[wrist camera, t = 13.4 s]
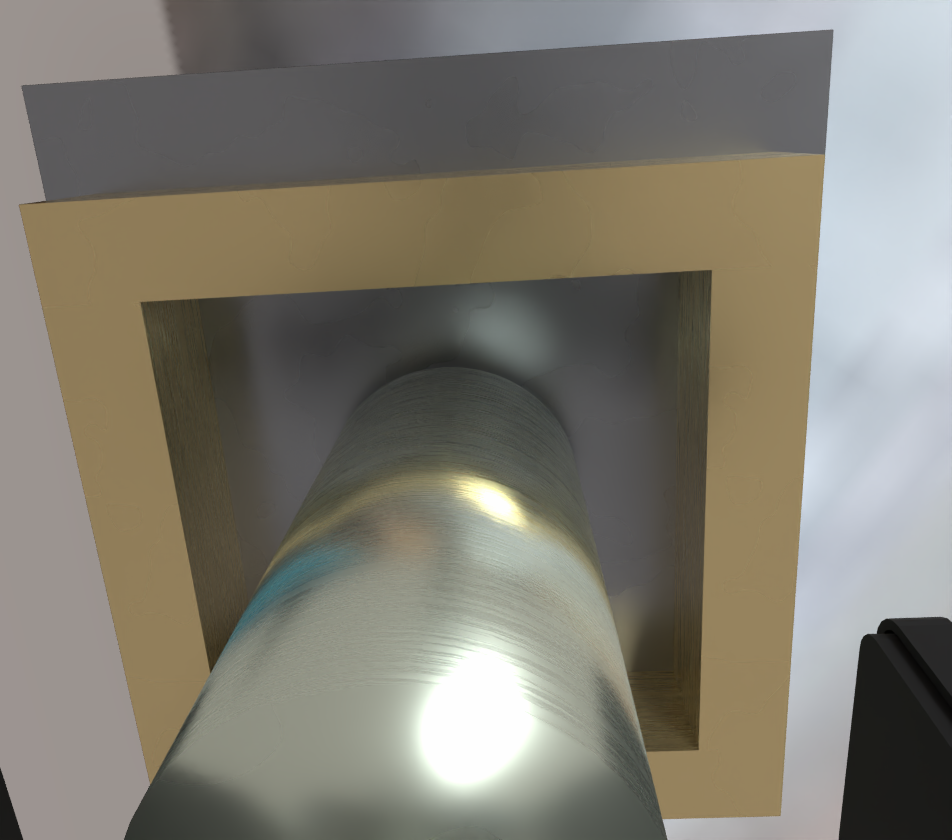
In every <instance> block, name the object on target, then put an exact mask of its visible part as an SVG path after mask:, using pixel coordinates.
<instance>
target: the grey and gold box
mask: <svg viewBox="0 0 952 840" xmlns="http://www.w3.org/2000/svg"><path fill="white" fill-rule="evenodd" d="M832 43H833V30H820V31H805V32H791V33H776V34H762V35H747V36H733V37H718V38H704V39H690V40H675V41H661V42H646V43H632V44H617V45H603V46H588V47H574V48H559V49H545V50H530V51H516V52H501V53H487V54H472V55H458V56H443V57H429V58H414V59H400V60H385V61H371V62H356V63H342V64H327V65H313V66H298V67H284V68H269V69H255V70H240V71H226V72H211V73H197V74H183V75H168V76H154V77H139V78H125V79H110V80H97V81H81V82H67V83H53V84H38V85H23V86H22V91H23V96H24V100H25V105H26V109H27V114H28V118H29V123H30V128H31V132H32V137H33V142H34V146H35V151H36V156H37V160H38V165H39V169H40V174H41V178H42V183H43V188H44V193H45V197H46V201H42V202H35V203H28V204H20V205H19V207H20V212H21V216H22V220H23V225H24V229H25V233H26V238H27V242H28V247H29V251H30V255H31V260H32V265H33V269H34V274H35V278H36V282H37V286H38V291H39V295H40V300H41V304H42V309H43V313H44V318H45V322H46V326H47V331H48V335H49V339H50V344H51V349H52V353H53V357H54V362H55V366H56V371H57V375H58V379H59V383H60V388H61V393H62V397H63V402H64V406H65V410H66V415H67V419H68V424H69V428H70V432H71V437H72V441H73V446H74V450H75V454H76V459H77V463H78V468H79V472H80V477H81V481H82V485H83V489H84V494H85V498H86V503H87V507H88V512H89V516H90V521H91V525H92V529H93V534H94V538H95V543H96V547H97V552H98V556H99V560H100V564H101V569H102V574H103V578H104V582H105V586H106V591H107V596H108V600H109V605H110V609H111V613H112V618H113V622H114V627H115V631H116V635H117V640H118V644H119V649H120V653H121V657H122V662H123V666H124V670H125V675H126V679H127V684H128V688H129V693H130V697H131V702H132V706H133V710H134V715H135V719H136V724H137V728H138V732H139V737H140V741H141V745H142V750H143V755H144V759H145V763H146V768H147V772H148V777H149V781H150V785H151V783H152V781H153V779H154V777H155V775H156V773H157V772H158V770H159V768H160V766H161V764H162V762H163V760H164V759H165V757H166V755H167V753H168V751H169V749H170V747H171V746H172V744H173V742H174V740H175V738H176V736H177V735H178V733H179V731H180V729H181V727H182V725H183V723H184V722H185V720H186V718H187V716H188V714H189V712H190V710H191V709H192V707H193V705H194V703H195V701H196V699H197V698H198V696H199V694H200V692H201V690H202V688H203V686H204V685H205V683H206V681H207V679H208V677H209V675H210V673H211V672H212V670H213V668H214V666H215V664H216V662H217V660H218V659H219V657H220V655H221V653H222V651H223V649H224V648H225V646H226V644H227V642H228V640H229V638H230V636H231V635H232V633H233V631H234V629H235V627H236V625H237V623H238V622H239V620H240V618H241V616H242V614H243V612H244V610H245V609H246V607H247V605H248V603H249V601H250V599H251V598H252V596H253V594H254V592H255V590H256V588H257V586H258V585H259V583H260V581H261V579H262V577H263V575H264V573H265V572H266V570H267V568H268V566H269V564H270V562H271V561H272V559H273V557H274V555H275V553H276V551H277V549H278V548H279V546H280V544H281V542H282V540H283V538H284V536H285V535H286V533H287V531H288V529H289V527H290V525H291V523H292V522H293V520H294V518H295V516H296V514H297V512H298V511H299V509H300V507H301V505H302V503H303V501H304V499H305V498H306V496H307V494H308V492H309V490H310V488H311V486H312V485H313V483H314V481H315V479H316V477H317V475H318V474H319V472H320V470H321V468H322V466H323V464H324V462H325V461H326V459H327V457H328V455H329V453H330V451H331V449H332V448H333V446H334V444H335V442H336V440H337V438H338V436H339V435H340V433H341V431H342V429H343V428H344V426H345V424H346V422H347V420H348V419H349V418H350V417H351V415H352V414H353V413H354V411H355V410H356V409H357V408H358V407H359V406H360V405H361V404H362V403H363V402H364V401H365V400H366V399H367V398H368V397H369V396H370V395H371V394H373V393H374V392H376V391H377V390H378V389H380V388H381V387H382V386H384V385H386V384H388V383H390V382H391V381H393V380H395V379H397V378H400V377H402V376H405V375H408V374H410V373H413V372H417V371H421V370H425V369H431V368H440V367H464V368H471V369H478V370H482V371H486V372H489V373H493V374H496V375H498V376H501V377H503V378H506V379H508V380H510V381H512V382H514V383H516V384H517V385H519V386H521V387H523V388H524V389H526V390H527V391H528V392H530V393H531V394H532V395H534V396H535V397H536V398H538V399H539V400H540V401H541V402H542V403H543V404H544V405H545V406H546V407H547V408H548V409H549V410H550V412H551V413H552V414H553V415H554V417H555V418H556V419H557V421H558V422H559V423H560V425H561V427H562V429H563V430H564V432H565V434H566V436H567V438H568V440H569V443H570V445H571V448H572V450H573V454H574V458H575V462H576V466H577V470H578V475H579V479H580V483H581V487H582V491H583V495H584V499H585V503H586V507H587V511H588V516H589V520H590V524H591V528H592V532H593V536H594V540H595V544H596V548H597V553H598V557H599V561H600V565H601V569H602V573H603V577H604V581H605V585H606V590H607V594H608V598H609V602H610V606H611V610H612V614H613V618H614V622H615V627H616V631H617V635H618V639H619V643H620V647H621V651H622V655H623V659H624V664H625V668H626V672H627V676H628V680H629V684H630V688H631V692H632V696H633V701H634V705H635V709H636V713H637V717H638V721H639V725H640V729H641V733H642V737H643V742H644V746H645V750H646V754H647V758H648V762H649V766H650V770H651V774H652V779H653V783H654V787H655V791H656V795H657V799H658V803H659V807H660V811H661V816H662V819H685V818H724V817H763V816H781V801H782V786H783V772H784V757H785V742H786V727H787V712H788V697H789V683H790V668H791V653H792V638H793V623H794V608H795V593H796V579H797V564H798V549H799V534H800V519H801V504H802V490H803V475H804V460H805V445H806V430H807V415H808V400H809V386H810V371H811V356H812V341H813V326H814V311H815V296H816V282H817V267H818V252H819V237H820V222H821V207H822V193H823V178H824V163H825V147H826V133H827V118H828V103H829V88H830V73H831V58H832Z"/></svg>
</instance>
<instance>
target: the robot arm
mask: <svg viewBox="0 0 952 840" xmlns="http://www.w3.org/2000/svg"><path fill="white" fill-rule="evenodd" d="M0 840H23V838H22V834H21V832H20V828H19V825H18V822H17V819H16V816H15V812H14V809H13V806H12V803H11V800H10V797H9V794H8V791H7V787H6V784H5V781H4V778H3V775H2V772H1V769H0ZM839 840H952V622H951V621H950V620H949V619H947V618H943V617H924V618H894V619H885V620H883V621H882V622H881V623H880V625H879V627H878V630H877V634H867V635H865V636H864V637H863V639H862V640H861V645H860V651H859V660H858V669H857V678H856V687H855V696H854V705H853V714H852V723H851V732H850V741H849V750H848V759H847V768H846V777H845V786H844V795H843V804H842V813H841V822H840V831H839Z"/></svg>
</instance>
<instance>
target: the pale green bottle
mask: <svg viewBox="0 0 952 840" xmlns="http://www.w3.org/2000/svg"><path fill="white" fill-rule="evenodd" d="M124 840H667V836H666V832H665V828H664V824H663V820H662V816H661V811H660V807H659V803H658V799H657V795H656V791H655V787H654V783H653V779H652V774H651V770H650V766H649V762H648V758H647V754H646V750H645V746H644V742H643V737H642V733H641V729H640V725H639V721H638V717H637V713H636V709H635V705H634V701H633V696H632V692H631V688H630V684H629V680H628V676H627V672H626V668H625V664H624V659H623V655H622V651H621V647H620V643H619V639H618V635H617V631H616V627H615V622H614V618H613V614H612V610H611V606H610V602H609V598H608V594H607V590H606V585H605V581H604V577H603V573H602V569H601V565H600V561H599V557H598V553H597V548H596V544H595V540H594V536H593V532H592V528H591V524H590V520H589V516H588V511H587V507H586V503H585V499H584V495H583V491H582V487H581V483H580V479H579V475H578V470H577V466H576V462H575V458H574V454H573V450H572V448H571V445H570V443H569V440H568V438H567V436H566V434H565V432H564V430H563V429H562V427H561V425H560V423H559V422H558V421H557V419H556V418H555V417H554V415H553V414H552V413H551V412H550V410H549V409H548V408H547V407H546V406H545V405H544V404H543V403H542V402H541V401H540V400H539V399H538V398H536V397H535V396H534V395H532V394H531V393H530V392H528V391H527V390H526V389H524V388H523V387H521V386H519V385H517V384H516V383H514V382H512V381H510V380H508V379H506V378H503V377H501V376H498V375H496V374H493V373H489V372H486V371H482V370H478V369H471V368H464V367H440V368H431V369H425V370H421V371H417V372H413V373H410V374H408V375H405V376H402V377H400V378H397V379H395V380H393V381H391V382H390V383H388V384H386V385H384V386H382V387H381V388H380V389H378V390H377V391H376V392H374V393H373V394H371V395H370V396H369V397H368V398H367V399H366V400H365V401H364V402H363V403H362V404H361V405H360V406H359V407H358V408H357V409H356V410H355V411H354V413H353V414H352V415H351V417H350V418H349V419H348V420H347V422H346V424H345V426H344V428H343V429H342V431H341V433H340V435H339V436H338V438H337V440H336V442H335V444H334V446H333V448H332V449H331V451H330V453H329V455H328V457H327V459H326V461H325V462H324V464H323V466H322V468H321V470H320V472H319V474H318V475H317V477H316V479H315V481H314V483H313V485H312V486H311V488H310V490H309V492H308V494H307V496H306V498H305V499H304V501H303V503H302V505H301V507H300V509H299V511H298V512H297V514H296V516H295V518H294V520H293V522H292V523H291V525H290V527H289V529H288V531H287V533H286V535H285V536H284V538H283V540H282V542H281V544H280V546H279V548H278V549H277V551H276V553H275V555H274V557H273V559H272V561H271V562H270V564H269V566H268V568H267V570H266V572H265V573H264V575H263V577H262V579H261V581H260V583H259V585H258V586H257V588H256V590H255V592H254V594H253V596H252V598H251V599H250V601H249V603H248V605H247V607H246V609H245V610H244V612H243V614H242V616H241V618H240V620H239V622H238V623H237V625H236V627H235V629H234V631H233V633H232V635H231V636H230V638H229V640H228V642H227V644H226V646H225V648H224V649H223V651H222V653H221V655H220V657H219V659H218V660H217V662H216V664H215V666H214V668H213V670H212V672H211V673H210V675H209V677H208V679H207V681H206V683H205V685H204V686H203V688H202V690H201V692H200V694H199V696H198V698H197V699H196V701H195V703H194V705H193V707H192V709H191V710H190V712H189V714H188V716H187V718H186V720H185V722H184V723H183V725H182V727H181V729H180V731H179V733H178V735H177V736H176V738H175V740H174V742H173V744H172V746H171V747H170V749H169V751H168V753H167V755H166V757H165V759H164V760H163V762H162V764H161V766H160V768H159V770H158V772H157V773H156V775H155V777H154V779H153V781H152V783H151V785H150V786H149V788H148V790H147V792H146V794H145V796H144V797H143V799H142V801H141V803H140V805H139V807H138V809H137V810H136V812H135V814H134V816H133V818H132V820H131V822H130V824H129V827H128V830H127V833H126V835H125V838H124Z"/></svg>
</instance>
